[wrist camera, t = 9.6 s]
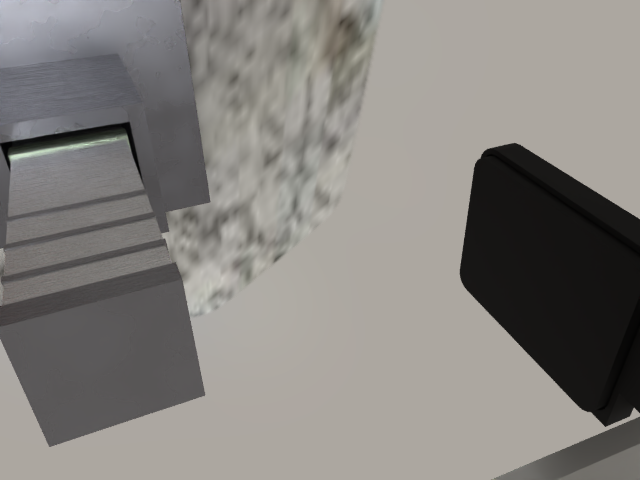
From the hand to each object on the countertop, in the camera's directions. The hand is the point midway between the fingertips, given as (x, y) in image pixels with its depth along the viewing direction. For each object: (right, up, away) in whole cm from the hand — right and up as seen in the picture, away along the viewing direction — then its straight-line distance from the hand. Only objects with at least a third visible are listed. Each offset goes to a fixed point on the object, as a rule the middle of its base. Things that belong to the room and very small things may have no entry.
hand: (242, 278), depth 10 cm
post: (-12, +5, +21) cm, 25 cm away
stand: (-15, +9, +28) cm, 33 cm away
